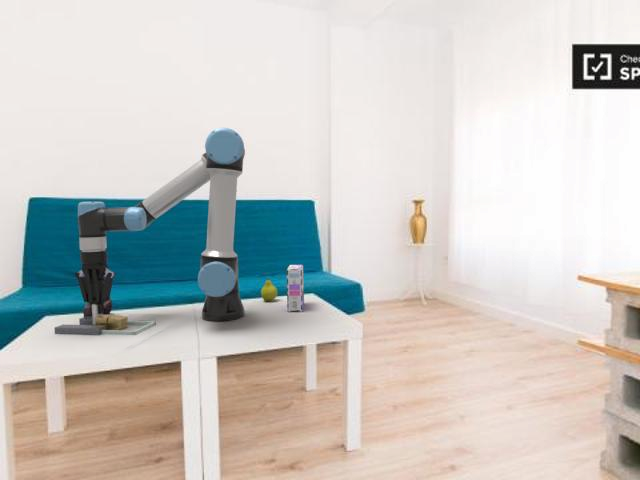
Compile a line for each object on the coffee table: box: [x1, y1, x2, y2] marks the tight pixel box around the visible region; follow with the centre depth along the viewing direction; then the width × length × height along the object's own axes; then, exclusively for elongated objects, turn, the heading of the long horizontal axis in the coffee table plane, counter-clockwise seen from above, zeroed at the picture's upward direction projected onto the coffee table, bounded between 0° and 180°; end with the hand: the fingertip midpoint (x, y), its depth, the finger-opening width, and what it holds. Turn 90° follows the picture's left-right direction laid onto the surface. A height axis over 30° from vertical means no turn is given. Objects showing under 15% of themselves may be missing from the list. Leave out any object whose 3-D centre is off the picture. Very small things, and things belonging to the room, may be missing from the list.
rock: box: [82, 298, 114, 317], centre depth 149 cm, size 12×9×10 cm
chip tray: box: [101, 320, 157, 336], centre depth 131 cm, size 11×12×2 cm
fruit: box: [260, 273, 278, 302], centre depth 176 cm, size 7×7×12 cm
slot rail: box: [54, 316, 107, 336], centre depth 133 cm, size 15×14×4 cm
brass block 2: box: [107, 314, 129, 331], centre depth 132 cm, size 4×4×4 cm
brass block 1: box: [95, 314, 115, 329], centre depth 132 cm, size 4×4×4 cm
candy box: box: [286, 264, 305, 313], centre depth 162 cm, size 14×6×16 cm, turn 179°
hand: (97, 323), depth 133 cm, fingers closed
